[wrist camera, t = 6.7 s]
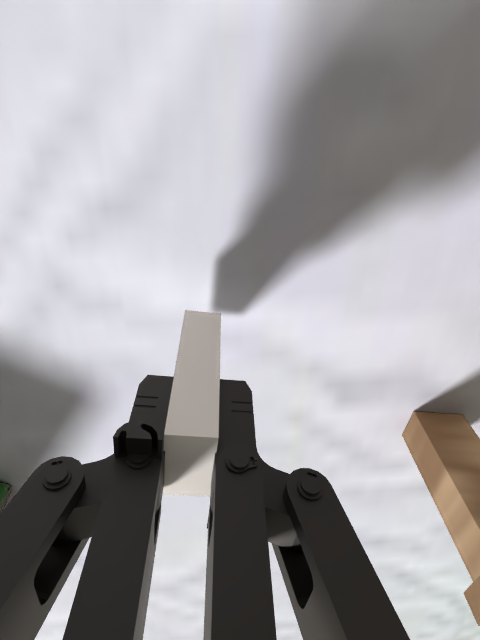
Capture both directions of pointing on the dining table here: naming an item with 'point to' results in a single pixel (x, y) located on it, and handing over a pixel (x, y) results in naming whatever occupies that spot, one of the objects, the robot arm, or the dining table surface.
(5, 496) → the chalk box
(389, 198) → the dining table surface
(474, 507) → the bridge
